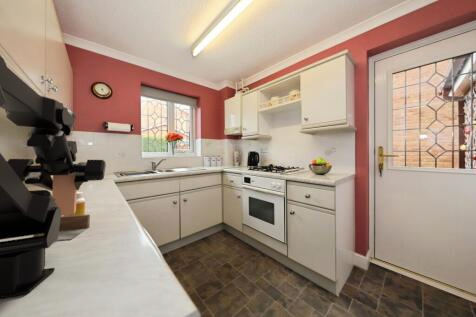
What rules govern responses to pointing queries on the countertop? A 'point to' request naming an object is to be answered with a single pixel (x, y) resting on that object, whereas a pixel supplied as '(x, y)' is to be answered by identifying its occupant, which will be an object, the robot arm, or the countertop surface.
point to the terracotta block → (65, 193)
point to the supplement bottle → (79, 205)
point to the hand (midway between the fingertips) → (66, 189)
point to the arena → (71, 226)
